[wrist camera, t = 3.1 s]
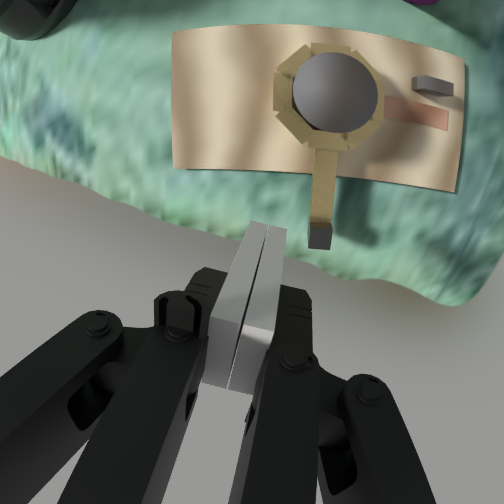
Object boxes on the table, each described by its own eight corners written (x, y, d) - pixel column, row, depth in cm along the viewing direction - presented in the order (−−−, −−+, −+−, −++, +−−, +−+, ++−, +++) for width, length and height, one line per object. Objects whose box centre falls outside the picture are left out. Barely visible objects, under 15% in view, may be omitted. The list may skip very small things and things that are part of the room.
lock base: (177, 166, 29) (134, 189, 21) (177, 34, 23) (132, 11, 15) (449, 189, 25) (494, 220, 17) (458, 60, 19) (509, 50, 11)
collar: (277, 51, 21) (273, 38, 17) (372, 60, 20) (387, 50, 16) (272, 224, 29) (267, 245, 25) (358, 231, 28) (368, 253, 24)
